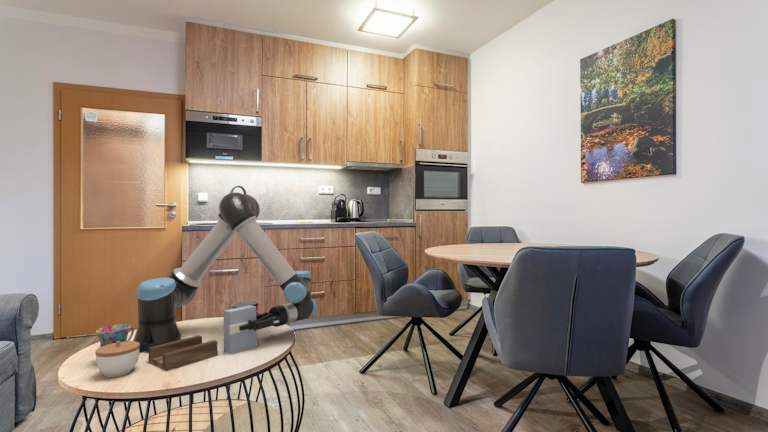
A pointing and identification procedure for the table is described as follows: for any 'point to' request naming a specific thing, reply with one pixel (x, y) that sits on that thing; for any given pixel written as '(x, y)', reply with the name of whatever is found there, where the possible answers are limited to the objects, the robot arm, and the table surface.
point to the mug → (114, 334)
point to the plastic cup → (246, 304)
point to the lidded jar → (117, 358)
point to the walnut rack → (182, 352)
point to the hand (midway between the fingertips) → (225, 329)
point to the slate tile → (240, 339)
